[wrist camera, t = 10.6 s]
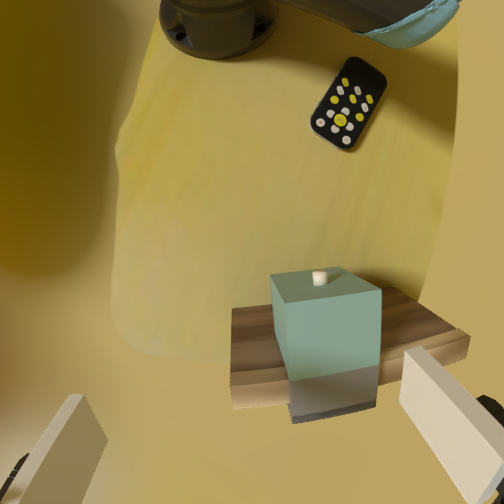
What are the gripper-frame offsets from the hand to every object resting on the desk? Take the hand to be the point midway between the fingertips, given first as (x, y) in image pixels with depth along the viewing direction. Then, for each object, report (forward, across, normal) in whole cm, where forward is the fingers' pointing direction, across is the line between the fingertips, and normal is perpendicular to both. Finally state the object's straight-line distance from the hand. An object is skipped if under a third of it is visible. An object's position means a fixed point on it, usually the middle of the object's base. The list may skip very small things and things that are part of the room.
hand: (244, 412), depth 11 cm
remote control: (+28, +16, +17) cm, 37 cm away
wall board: (+27, +9, -8) cm, 30 cm away
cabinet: (+19, +6, -5) cm, 21 cm away
